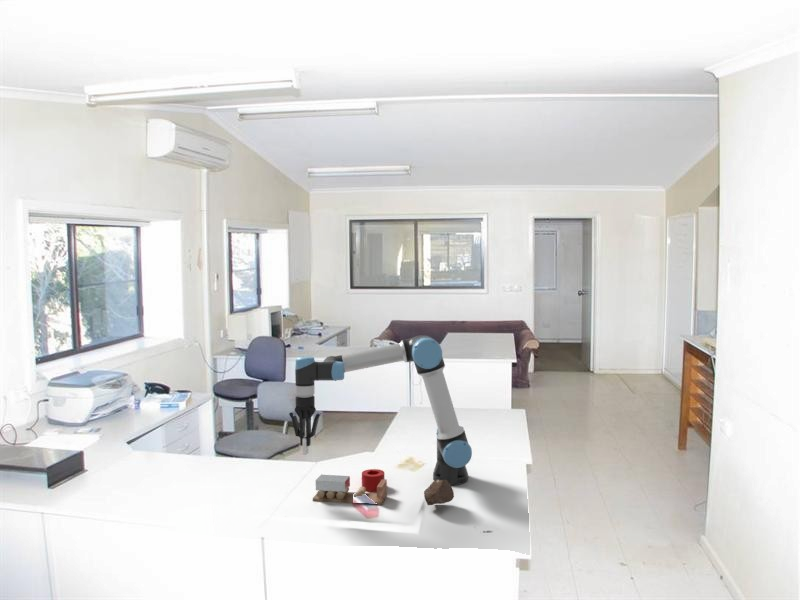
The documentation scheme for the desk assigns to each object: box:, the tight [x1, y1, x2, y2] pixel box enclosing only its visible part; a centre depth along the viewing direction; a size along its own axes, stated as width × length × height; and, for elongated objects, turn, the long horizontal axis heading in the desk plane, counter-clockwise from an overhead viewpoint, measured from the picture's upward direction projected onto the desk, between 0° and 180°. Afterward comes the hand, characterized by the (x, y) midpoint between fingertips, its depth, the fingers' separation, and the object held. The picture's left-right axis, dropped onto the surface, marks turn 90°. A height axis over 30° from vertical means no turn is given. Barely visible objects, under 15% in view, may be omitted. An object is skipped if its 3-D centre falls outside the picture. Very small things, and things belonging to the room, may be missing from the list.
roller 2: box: [336, 487, 350, 500], centre depth 245 cm, size 8×3×3 cm, turn 169°
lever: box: [361, 468, 385, 493], centre depth 260 cm, size 18×9×7 cm, turn 18°
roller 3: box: [354, 485, 367, 497], centre depth 243 cm, size 8×3×3 cm
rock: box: [423, 480, 455, 506], centre depth 237 cm, size 12×10×10 cm
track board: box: [312, 478, 388, 506], centre depth 244 cm, size 28×9×7 cm, turn 79°
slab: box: [315, 474, 351, 492], centre depth 245 cm, size 12×7×4 cm, turn 79°
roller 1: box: [316, 490, 328, 498], centre depth 246 cm, size 8×3×3 cm, turn 169°
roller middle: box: [326, 491, 337, 499], centre depth 245 cm, size 8×3×3 cm, turn 169°
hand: (305, 453), depth 247 cm, fingers closed
